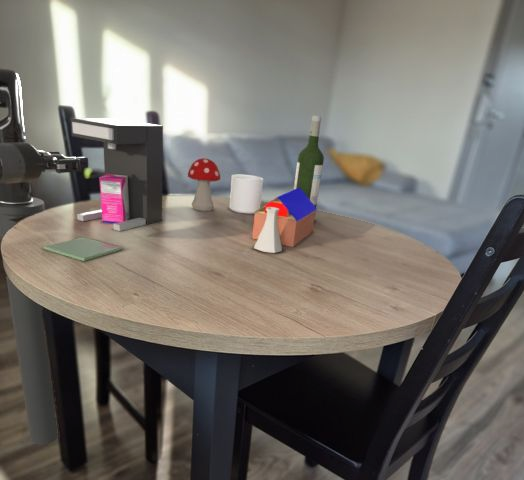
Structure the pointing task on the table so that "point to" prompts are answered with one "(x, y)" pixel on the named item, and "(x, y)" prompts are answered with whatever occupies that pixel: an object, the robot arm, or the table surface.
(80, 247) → the plate
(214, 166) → the decorative mushroom
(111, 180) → the supplement box
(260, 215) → the house
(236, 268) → the table surface
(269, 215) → the flask
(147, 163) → the espresso machine
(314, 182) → the wine bottle
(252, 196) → the mug
